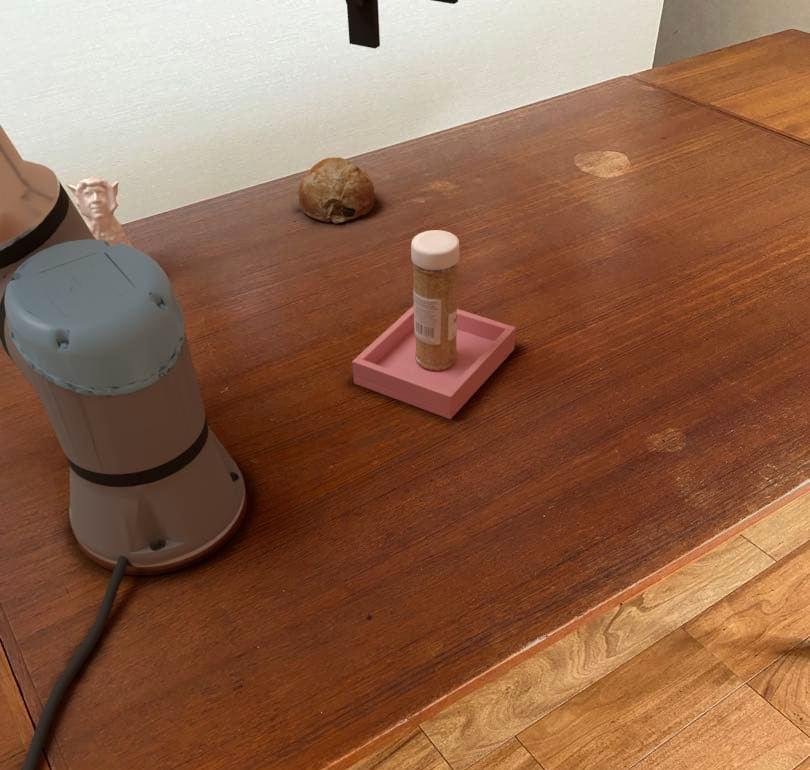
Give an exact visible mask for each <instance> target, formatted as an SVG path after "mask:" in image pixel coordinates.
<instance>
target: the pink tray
mask: <svg viewBox="0 0 810 770" xmlns="http://www.w3.org/2000/svg"><path fill="white" fill-rule="evenodd" d="M516 329H517V327H515V326H513V325H509V324H506V323H503V322H500V321H497V320H493V319H491V318H488V317H484V316H481V315H478V314H474V313H472V312H468V311H466V310H462V309H459V308H457V337H456V345H457V346H456V351H457V360H456V362H455V363H454V364H453V365H452V366H451V367H449V368H446V369H443V370H429V369H426V368H423V367H421V366H420V365H418V364H417V362H416V360H415V353H416V337H415V330H414V305H412V306H411V307H410V308H409V309H408V310H406V312H405V313H404V314H402V315H401V316H400V317H399V318H398V319H397V320H395V322H394V323H393V324H391V325H390V326H389V327H388V328H387V329H386V330H384V331H383V332H382V333H381V334H380V335H379V336H378V337H377V338H376V339H374V340H373V342H372V343H371V344H369V345H368V346H367V347H366V348H365V349H364V350H363V351H361V353H359V354H358V355H357V356H356V357H355V358H354V359H353V360H352V361H351V363H352V374H353V375H352V376H353V384H354V385H356V386H357V385H358V386H359V387H363V388H365V389H368V390H370V391H373V392H375V393H376V392H377V393H379V394H382V395H384V396H387V397H389V398H392V399H395V400H397V401H400V402H403V403H405V404H408V405H410V406H413V407H416V408H418V409H422V410H424V411H427V412H430V413H432V414H435V415H437V416H440V417H443V418H446V419H448V420H452V418H453V417H454V416H455V415H457V413H458V412H459V411H460V410H461V409H462V408H463V406H464V405H466V403H467V402H468V401H469V400H470V399H471V397H472V396H474V394H475V393H476V392H477V391H478V390H479V389H480V388H481V387H482V386H483V385H484V383H485V382H486V381H488V379H489V378H490V377H491V376H492V375H493V373H494V372H496V370H497V369H498V368H499V367H500V366H501V365H502V364H503V363H504V361H506V359H507V358H509V356H510V354H511V353H512V352H513V351H514V350H515V346H516V345H515V342H516Z"/></svg>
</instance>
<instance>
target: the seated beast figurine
mask: <svg viewBox="0 0 810 770" xmlns="http://www.w3.org/2000/svg"><path fill="white" fill-rule="evenodd" d="M119 183H120V180H115V181H114V182H113V183H111V184H110V183H109V182H108V180H106V179H104V178H101V177H97V176H89V177H87V178H83V179H80V180H79V181H78V183H77V184H76V185H75V184H70V183H67V184H66V187H67V188H68V189H69V190H70V191H71V193H72V194H73V196H75V206H77V209H78V211H79V212H80V215H81V216H82V217H83V216H84V217H86V219H85V220H84V221H85V223H86V225H87V226H88V228H89V229H90V231H91V232H92V234H93V235H94V237H95V238H96V240H105V241H107V242H108V243H109V245H110V246H113V245H115V244H117V243H122V244H126V245H129V246H131V247H133V245H132V242H131V241H130V240H129V238H128V237H127V234H126V233H125V229H124V228H123V226H122V223H121V222H119V220H118V219H117V218H116V216H115V211H116V210H117V209H118V207H119V204H118V201H117V196H118V193H119Z"/></svg>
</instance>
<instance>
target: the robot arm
mask: <svg viewBox="0 0 810 770" xmlns="http://www.w3.org/2000/svg"><path fill="white" fill-rule="evenodd" d="M431 1H432V2H433V1H434V2H439V3H444V4H445V3H446V4H451V5H455V4H457V3H458V2H459V0H431ZM345 4H346V12H347V28H348V41H349V42H348V43H349V45H354V46H360V47H365V48H370V49H377V48H379V47H380V46H381V37H380V18H379V17H380V15H379V0H345ZM85 221H86V220H84V218H83V215H82V214H81V212H80V211H79V209H78V207H76V204H74V201H73V200H72V198H71V197H70V195H69V194H68V192H67V191H66V190H65V188H64V186H63V185H62V183H61V181H60V180H59V178H58V176H57V175H56V173H55V172H54V171H53V170H52V169H50V168H49V167H48V166H47V165H43V164H40V163H37V162H33V161H29V160H24V159H23V157H22V156H21V155H20V153H19V152H18V149H17V148H16V146H15V145H14V143H13V142H12V141H11V139H10V137H9V136H8V134H7V133H6V131H5V130H4V128H3V126H2V125H1V124H0V347H1V348H2V349H3V351H4V352H5V353H6V354H7V356H8V357H9V358H10V360H11V361H12V362H13V363H14V364H15V366H16V367H17V369H18V370H19V371H20V372H21V374H22V375H23V377H24V378H25V379H26V380H27V381H28V383H29V384H30V386H31V387H32V388H33V390H34V391H35V393H36V394H37V396H38V398H39V400H40V402H41V404H42V406H43V408H44V410H45V413H46V414H47V417H48V420H49V422H50V424H51V426H52V429H53V431H54V433H55V435H56V436H55V437H56V438H57V441H58V443H59V446H60V448H61V450H62V452H63V454H64V457H65V459H66V461H67V463H68V466H69V505H68V516H69V522H70V527H71V530H72V532H73V534H74V537H75V539H76V541H77V544H78V545H79V547H80V549H81V551H82V552H83V554H85V555H86V557H88V558H89V559H90V560H91V561H92V562H94V563H96V564H97V565H99V566H100V567H102V568H105V569H106V570H109V571H112V574H111V577H110V579H109V582H108V585H107V588H106V590H105V593H104V595H103V596H104V597H103V599H102V602H101V604H100V608H99V611H98V614H97V617H96V618H95V620H94V623H93V625H92V627H91V628H90V630H89V632H88V633H87V635H86V637H85V639H84V641H83V642H82V643H81V645H80V647H79V648H78V650H77V651H76V653H74V655H73V657H72V659H71V660H70V661H69V663H68V664H67V666H66V667H65V668H64V670H63V672H62V673H61V675H60V677H59V678H58V680H57V681H56V683H55V685H54V687H53V689H52V691H51V693H50V695H49V697H48V699H47V700H46V703H45V705H44V708H43V710H42V712H41V713H40V714H41V715H40V717H39V719H38V721H37V724H36V727H35V730H34V733H33V736H32V739H31V742H30V745H29V747H28V750H27V753H26V755H25V759H24V763H23V764H22V765H23V766H22V767H21V770H37V769H36V768H37V765H38V763H39V759H40V757H41V753H42V750H43V748H44V745H45V742H46V738H47V736H48V733H49V729H50V727H51V725H52V722H53V719H54V717H55V714H56V712H57V709H58V707H59V706H60V703H61V701H62V699H63V697H64V695H65V693H66V692H67V689H68V688H69V686H70V684H71V683H72V682H73V679H74V678H75V676H76V675H77V673H78V672H79V670H80V669H81V667H82V666H83V664H84V663H85V661H86V660H87V658H88V657H89V656H90V654H91V653H92V650H93V649H94V648H95V646H96V644H97V642H98V640H99V639H100V637H101V635H102V633H103V631H104V629H105V627H106V624H107V623H108V620H109V618H110V615H111V612H112V609H113V606H114V603H115V600H116V596H117V594H118V592H119V588H120V586H121V583H122V580H123V577H124V575H130V576H131V575H133V576H153V575H161V574H167V573H173V572H176V571H179V570H182V569H186V568H188V567H190V566H193V565H195V564H197V563H200V562H202V561H203V560H205V559H207V558H209V557H210V556H212V555H213V554H215V553H216V552H218V551H219V550H221V548H223V547H224V546H225V545H226V544H227V543H228V542H229V541H230V540H231V539H232V538H233V537H234V535H235V534H236V533H237V532H238V530H239V528H240V527H241V525H242V523H243V522H244V520H245V516H246V513H247V509H248V495H247V494H248V493H247V490H246V485H245V480H244V477H243V474H242V472H241V470H240V469H239V467H238V465H237V463H236V462H235V460H234V459H233V457H232V456H231V455H230V453H229V452H228V451H227V450H226V448H225V446H224V445H223V444H222V442H221V441H220V440H219V439H218V437H217V436H216V434H215V433H214V432H213V431H212V429H211V428H210V426H209V423H208V418H207V415H206V411H205V406H204V402H203V399H202V394H201V391H200V385H199V382H198V378H197V374H196V370H195V366H194V362H193V358H192V354H191V350H190V345H189V342H188V341H189V340H188V338H187V337H188V336H187V334H186V329H185V326H186V323H185V320H184V319H185V317H184V313H183V309H182V306H181V305H180V303H179V299H178V297H177V295H176V293H175V291H174V289H173V286H172V284H171V283H172V282H171V281H170V279H169V277H168V275H167V273H166V272H165V271H164V269H163V268H162V267H161V265H160V264H159V263H158V262H157V261H156V260H155V259H154V258H152V257H151V256H149V254H147V253H146V252H144V251H142V250H140V249H138V248H136V247H134V246H132V247H131V246H129V245H126V244H122V243H117V244H115V245H113V246H110V245H109V243H108V242H107V241H105V240H96V238H95V237H94V235H93V234H92V232H91V231H90V229H89V228H88V226H87V225H86V223H85Z"/></svg>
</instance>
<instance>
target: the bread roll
mask: <svg viewBox="0 0 810 770" xmlns="http://www.w3.org/2000/svg"><path fill="white" fill-rule="evenodd" d="M297 194H298V195H297V196H298V204H299V207H300V210H301V211H302V212H303V213H305V214H306V215H307V216H308V217H311V218H313V219H314V220H317V221H319V222H322V223H333V224H335V225H338V224H341V223H343V222H348V221H350V220H351V221H352V220H355V219H357V218H358V217H361V216H365V215H367V214H369V213H370V212H371V210H372V209H373V206H374V204H375V199H376V195H375V187H374V182H373V180H372V178H371V177H370V175H369V174H368V173H367V172H366V171H365V170H364V169H363V168H362V167H361V166H359V165H357V164H355V163H354V162H353V161H351V160H349V159H345V158H343V157H327V158H324V159H322V160H320V161H318V162H317V163H316V164H314V165H313V166H312V167H310V169H309V170H308V172H307V173H306V174H305V175H304V176H303V177H302V178H301V179H300V182H299V183H298V189H297Z"/></svg>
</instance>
